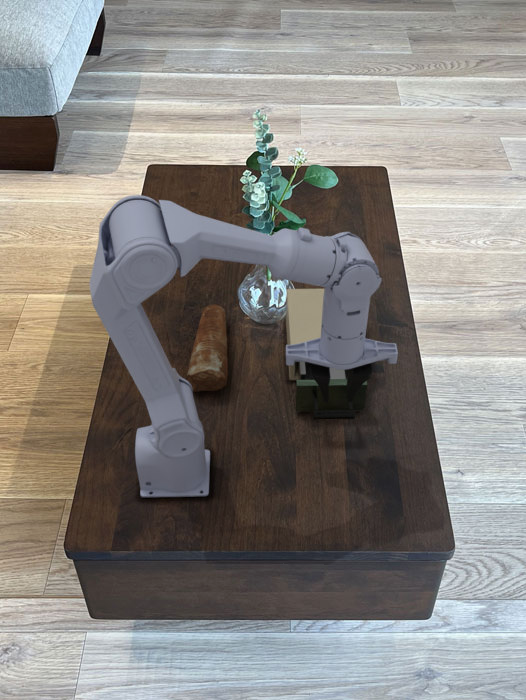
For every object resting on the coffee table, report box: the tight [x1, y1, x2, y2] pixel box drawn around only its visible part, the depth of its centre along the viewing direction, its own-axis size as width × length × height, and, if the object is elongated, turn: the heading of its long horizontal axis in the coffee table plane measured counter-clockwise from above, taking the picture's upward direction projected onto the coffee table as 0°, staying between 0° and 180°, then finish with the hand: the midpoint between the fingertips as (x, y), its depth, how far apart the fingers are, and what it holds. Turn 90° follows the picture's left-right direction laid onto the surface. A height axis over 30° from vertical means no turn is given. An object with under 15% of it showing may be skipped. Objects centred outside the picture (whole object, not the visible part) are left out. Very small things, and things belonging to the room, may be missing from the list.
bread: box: [185, 304, 229, 393], centre depth 129 cm, size 6×19×6 cm, turn 177°
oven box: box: [285, 288, 324, 381], centre depth 129 cm, size 14×12×8 cm
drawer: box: [294, 362, 368, 421], centre depth 122 cm, size 17×10×6 cm, turn 1°
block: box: [313, 368, 346, 380], centre depth 121 cm, size 4×4×4 cm
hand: (337, 396), depth 110 cm, fingers open, 3 cm apart
